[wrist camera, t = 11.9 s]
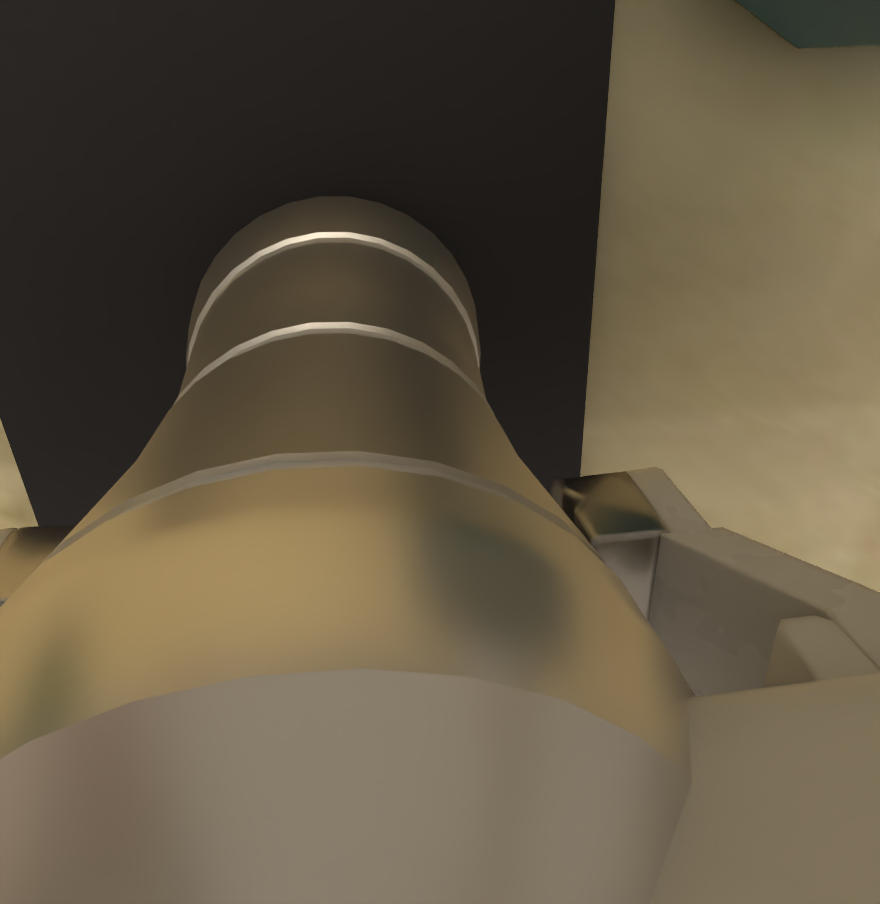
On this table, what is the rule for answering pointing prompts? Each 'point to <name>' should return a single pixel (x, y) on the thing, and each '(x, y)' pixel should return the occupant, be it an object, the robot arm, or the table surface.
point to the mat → (283, 194)
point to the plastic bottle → (333, 624)
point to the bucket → (821, 21)
